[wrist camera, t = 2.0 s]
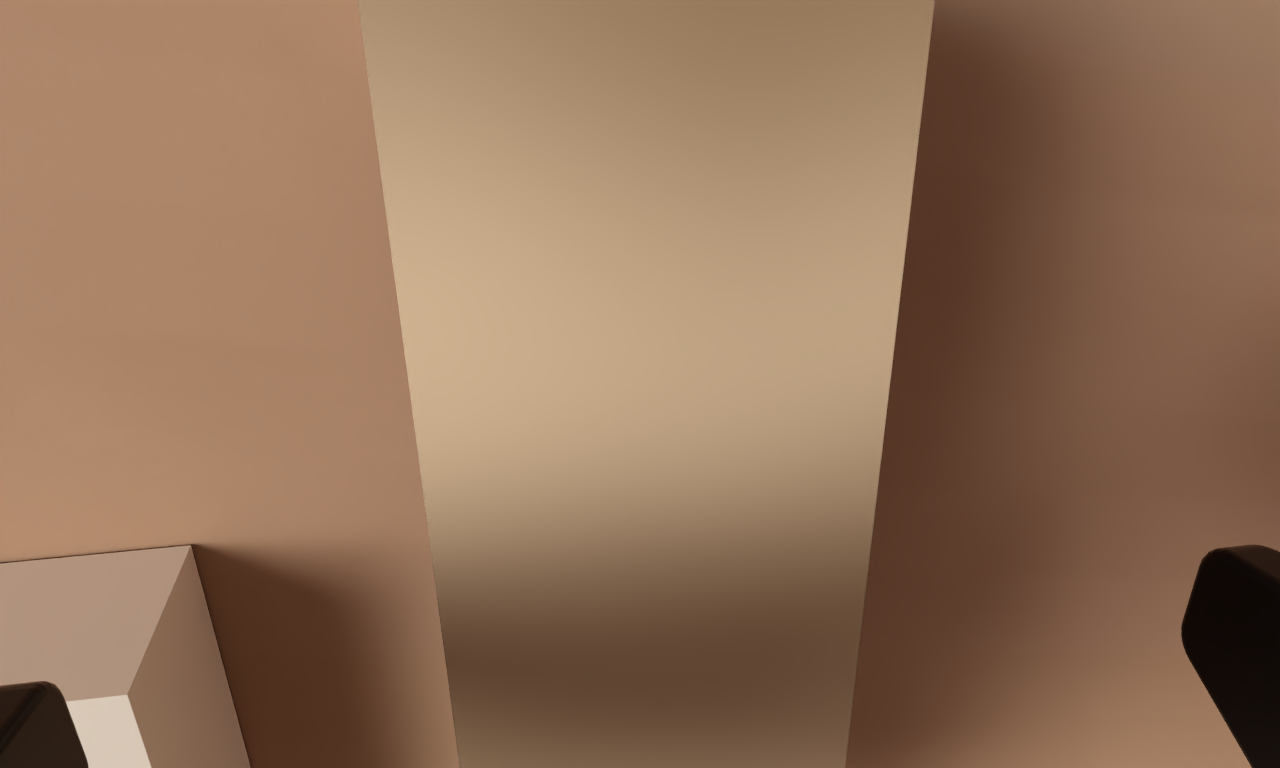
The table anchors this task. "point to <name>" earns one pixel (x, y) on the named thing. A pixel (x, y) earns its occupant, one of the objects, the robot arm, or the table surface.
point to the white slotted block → (124, 656)
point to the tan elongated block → (649, 358)
